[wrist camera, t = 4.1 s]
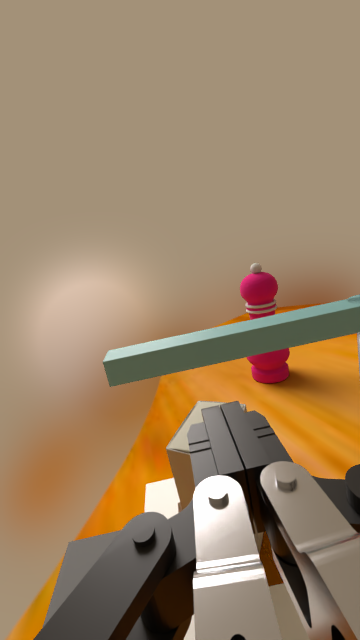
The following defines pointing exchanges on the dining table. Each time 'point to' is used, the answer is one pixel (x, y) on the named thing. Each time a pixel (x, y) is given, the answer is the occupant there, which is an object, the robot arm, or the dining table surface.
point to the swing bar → (233, 341)
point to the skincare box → (182, 459)
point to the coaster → (77, 566)
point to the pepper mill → (261, 304)
